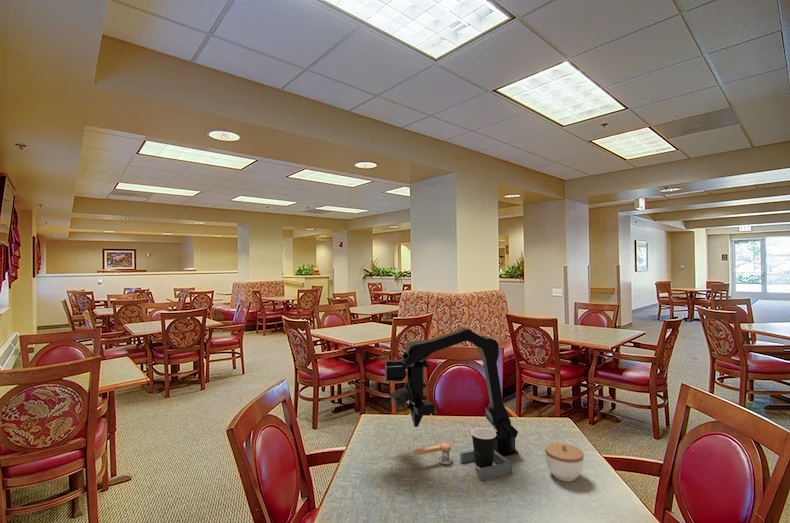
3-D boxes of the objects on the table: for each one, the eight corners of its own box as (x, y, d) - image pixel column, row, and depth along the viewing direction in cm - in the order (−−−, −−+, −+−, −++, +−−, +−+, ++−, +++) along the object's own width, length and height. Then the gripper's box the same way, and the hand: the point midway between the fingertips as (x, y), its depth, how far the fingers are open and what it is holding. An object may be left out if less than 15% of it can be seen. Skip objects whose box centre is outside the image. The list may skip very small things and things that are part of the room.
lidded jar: (581, 470, 122) (581, 440, 123) (586, 488, 112) (585, 455, 112) (544, 464, 126) (544, 435, 126) (546, 482, 116) (545, 450, 116)
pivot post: (448, 456, 132) (448, 445, 132) (455, 463, 127) (455, 452, 127) (435, 458, 130) (435, 447, 130) (442, 466, 126) (442, 454, 126)
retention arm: (447, 445, 131) (447, 441, 131) (452, 450, 128) (452, 446, 128) (412, 451, 127) (412, 448, 127) (416, 457, 123) (416, 453, 123)
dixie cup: (467, 469, 123) (467, 434, 123) (476, 459, 130) (475, 425, 130) (492, 476, 119) (492, 440, 119) (499, 465, 126) (499, 430, 126)
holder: (489, 455, 132) (489, 446, 132) (512, 473, 121) (512, 463, 121) (460, 461, 129) (460, 451, 129) (481, 480, 117) (481, 470, 117)
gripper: (384, 375, 138) (384, 419, 138) (403, 390, 120) (403, 442, 120) (413, 372, 142) (413, 415, 142) (436, 386, 124) (436, 436, 124)
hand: (416, 426), depth 132 cm, fingers closed
